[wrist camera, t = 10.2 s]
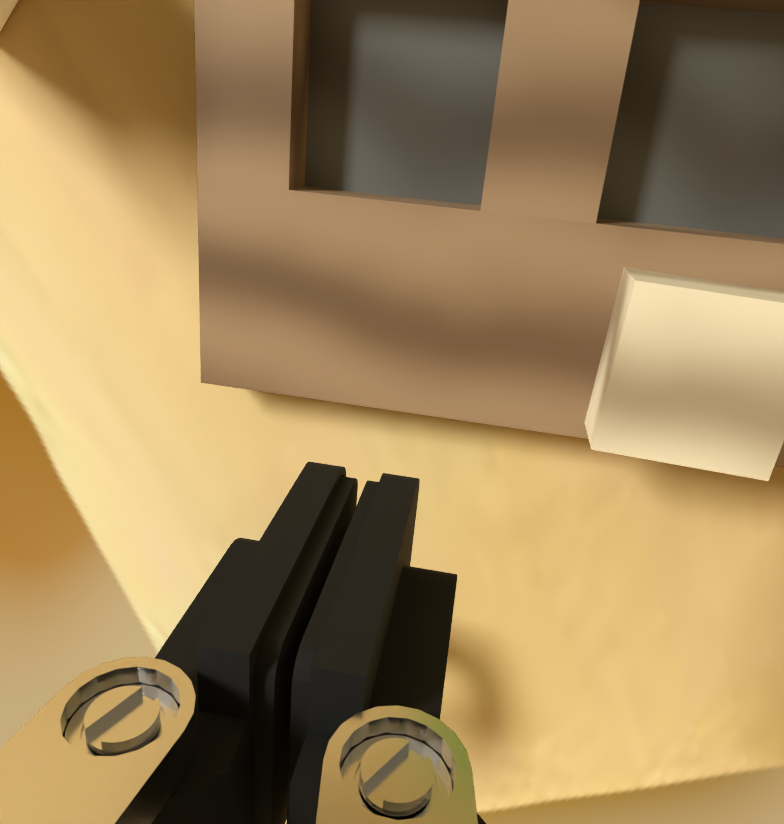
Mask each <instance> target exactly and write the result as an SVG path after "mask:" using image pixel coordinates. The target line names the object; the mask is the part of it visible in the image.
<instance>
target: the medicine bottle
mask: <svg viewBox="0 0 784 824" xmlns="http://www.w3.org/2000/svg"><path fill="white" fill-rule="evenodd" d="M17 2H18V0H0V32H1V30H2V28H3V26H4V25H5V23H6V21H7V19H8V18H9V16H10V14H11V12H12V11H13V9H14V7H15V6H16V4H17Z"/></svg>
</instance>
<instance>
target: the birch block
mask: <svg viewBox="0 0 784 824" xmlns="http://www.w3.org/2000/svg"><path fill="white" fill-rule="evenodd" d="M585 427H586V431H587V435H588V439H589V443H590V446H591V450H597V451H602V452H608V453H613V454H619V455H625V456H630V457H636V458H641V459H647V460H653V461H658V462H664V463H669V464H675V465H681V466H686V467H692V468H697V469H703V470H709V471H714V472H720V473H725V474H731V475H736V476H742V477H748V478H753V479H759V480H764V481H769V479H770V476H771V473H772V471H773V468H774V465H775V463H776V460H777V458H778V455H779V452H780V450H781V447H782V444H783V442H784V291H779V290H773V289H766V288H759V287H753V286H746V285H739V284H733V283H726V282H719V281H713V280H706V279H699V278H693V277H686V276H680V275H673V274H666V273H660V272H653V271H646V270H640V269H633V268H626V267H624V269H623V273H622V276H621V280H620V284H619V288H618V292H617V296H616V300H615V304H614V308H613V312H612V316H611V320H610V324H609V328H608V332H607V336H606V340H605V344H604V348H603V352H602V356H601V360H600V363H599V367H598V371H597V375H596V379H595V383H594V387H593V391H592V395H591V399H590V403H589V407H588V411H587V415H586V419H585Z"/></svg>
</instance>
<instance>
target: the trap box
mask: <svg viewBox="0 0 784 824" xmlns="http://www.w3.org/2000/svg"><path fill="white" fill-rule="evenodd" d="M194 21H195V76H196V132H197V187H198V243H199V299H200V354H201V383H208V384H215V385H221V386H228V387H235V388H242V389H249V390H256V391H263V392H269V393H276V394H283V395H290V396H297V397H304V398H311V399H318V400H324V401H331V402H338V403H345V404H352V405H359V406H366V407H372V408H379V409H386V410H393V411H400V412H407V413H414V414H420V415H427V416H434V417H441V418H448V419H455V420H462V421H469V422H475V423H482V424H489V425H496V426H503V427H510V428H517V429H523V430H530V431H537V432H544V433H551V434H558V435H565V436H571V437H578V438H585V439H588V435H587V431H586V427H585V419H586V415H587V411H588V407H589V403H590V399H591V395H592V391H593V387H594V383H595V379H596V375H597V371H598V367H599V363H600V360H601V356H602V352H603V348H604V344H605V340H606V336H607V332H608V328H609V324H610V320H611V316H612V312H613V308H614V304H615V300H616V296H617V292H618V288H619V284H620V280H621V276H622V273H623V269H624V267H626V268H633V269H640V270H646V271H653V272H660V273H666V274H673V275H680V276H686V277H693V278H699V279H706V280H713V281H719V282H726V283H733V284H739V285H746V286H753V287H759V288H766V289H773V290H779V291H784V0H194ZM774 466H777V467H784V442H783V444H782V447H781V450H780V452H779V455H778V458H777V460H776V463H775V465H774Z"/></svg>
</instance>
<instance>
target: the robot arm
mask: <svg viewBox="0 0 784 824" xmlns="http://www.w3.org/2000/svg"><path fill="white" fill-rule="evenodd" d="M357 488H358V482H357V479H355V478H349V477H346V470H345V467H340V466H333V465H327V464H321V463H314V462H308V463H307V464H306V465H305V467H304V468H303V470H302V472H301V473H300V475H299V477H298V478H297V480H296V481H295V483H294V485H293V486H292V488H291V490H290V491H289V493H288V495H287V496H286V498H285V500H284V501H283V503H282V505H281V506H280V508H279V509H278V511H277V513H276V514H275V516H274V518H273V519H272V521H271V523H270V524H269V526H268V528H267V529H266V531H265V532H264V534H263V536H262V537H261V539H260V541H256V540H250V539H244V538H238V539H236V540H235V541H234V542H233V543H232V544H231V545H230V547H229V548H228V550H227V551H226V553H225V554H224V556H223V557H222V559H221V560H220V562H219V563H218V565H217V566H216V568H215V569H214V571H213V572H212V574H211V575H210V577H209V578H208V580H207V581H206V583H205V584H204V586H203V587H202V589H201V590H200V592H199V593H198V595H197V596H196V598H195V599H194V601H193V602H192V604H191V605H190V606H189V608H188V609H187V611H186V612H185V614H184V615H183V617H182V618H181V620H180V621H179V623H178V624H177V626H176V627H175V629H174V630H173V632H172V633H171V635H170V636H169V638H168V639H167V641H166V642H165V644H164V645H163V647H162V648H161V650H160V651H159V653H158V654H157V656H156V657H155V658H149V657H131V658H130V657H129V658H121V659H117V660H113V661H109V662H105V663H102V664H100V665H97V666H96V667H93V668H91V669H89V670H87V671H85V672H83V673H81V674H80V675H78V676H77V677H76V678H74V679H73V680H72V681H70V682H69V683H68V684H67V685H65V686H64V687H63V688H62V689H61V690H60V691H59V692H58V693H57V694H56V695H55V696H54V697H53V698H51V699H50V701H49V702H48V703H46V704H45V705H44V706H43V707H42V708H41V709H40V710H39V711H38V712H37V713H36V714H35V715H34V716H33V717H32V718H31V719H30V720H29V721H28V722H27V723H26V724H25V725H24V726H23V727H22V728H21V729H20V730H19V731H18V732H17V733H16V734H15V735H14V736H13V737H12V738H10V739H9V740H8V741H7V742H6V743H5V744H4V745H3V746H2V747H1V748H0V824H285V822H286V819H287V824H486V823H485V822H484V821H483V819H481V817H480V816H479V815H478V814H477V811H476V802H475V792H474V783H473V774H472V768H471V764H470V761H469V757H468V754H467V750H466V749H465V747H464V746H463V744H462V743H461V741H460V740H459V738H458V737H457V735H456V734H455V732H453V731H452V730H451V729H450V728H449V727H448V726H446V725H445V724H444V723H443V722H442V721H440V713H441V705H442V697H443V688H444V680H445V672H446V664H447V656H448V648H449V639H450V631H451V623H452V615H453V607H454V599H455V590H456V582H457V574H451V573H445V572H439V571H433V570H427V569H421V568H415V567H410V561H411V552H412V544H413V535H414V527H415V518H416V510H417V501H418V492H419V479H418V478H411V477H405V476H398V475H392V474H385V473H383V474H382V476H381V479H380V482H374V481H367V482H366V484H365V487H364V489H363V492H362V494H361V497H360V499H359V502H358V504H357V506H356V502H357Z"/></svg>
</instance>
